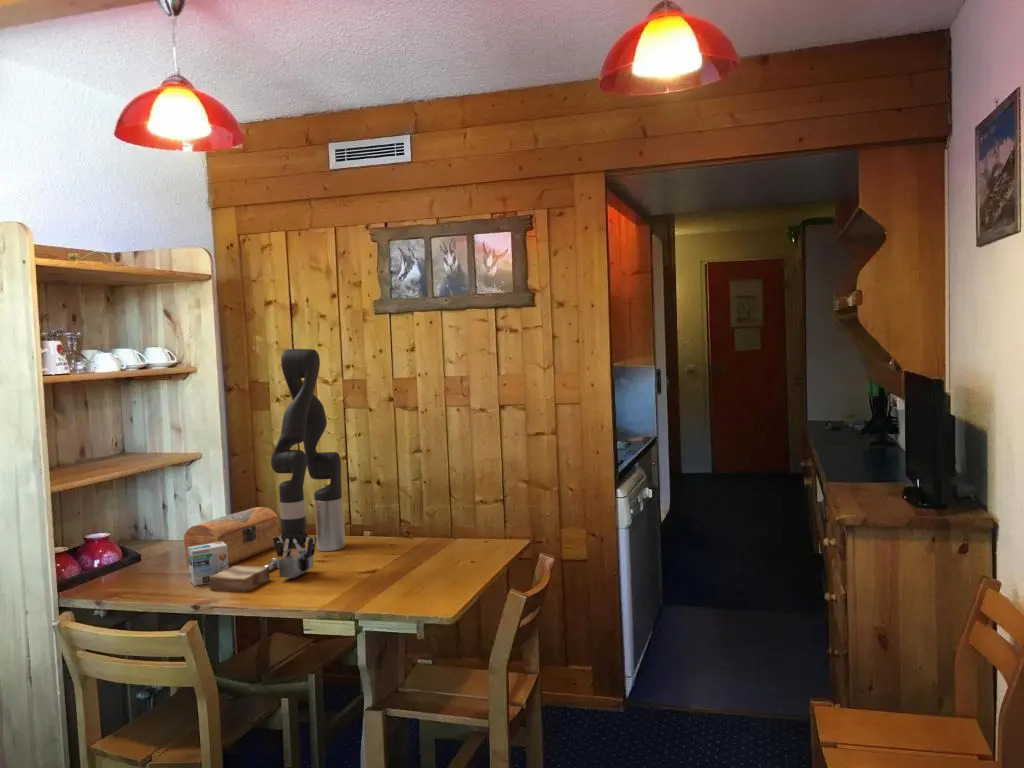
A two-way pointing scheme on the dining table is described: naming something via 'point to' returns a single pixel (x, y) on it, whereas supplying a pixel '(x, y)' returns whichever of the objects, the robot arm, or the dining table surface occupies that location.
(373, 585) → the dining table surface
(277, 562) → the bolt
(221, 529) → the wooden box
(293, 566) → the block
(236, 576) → the stand
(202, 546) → the light bulb box
